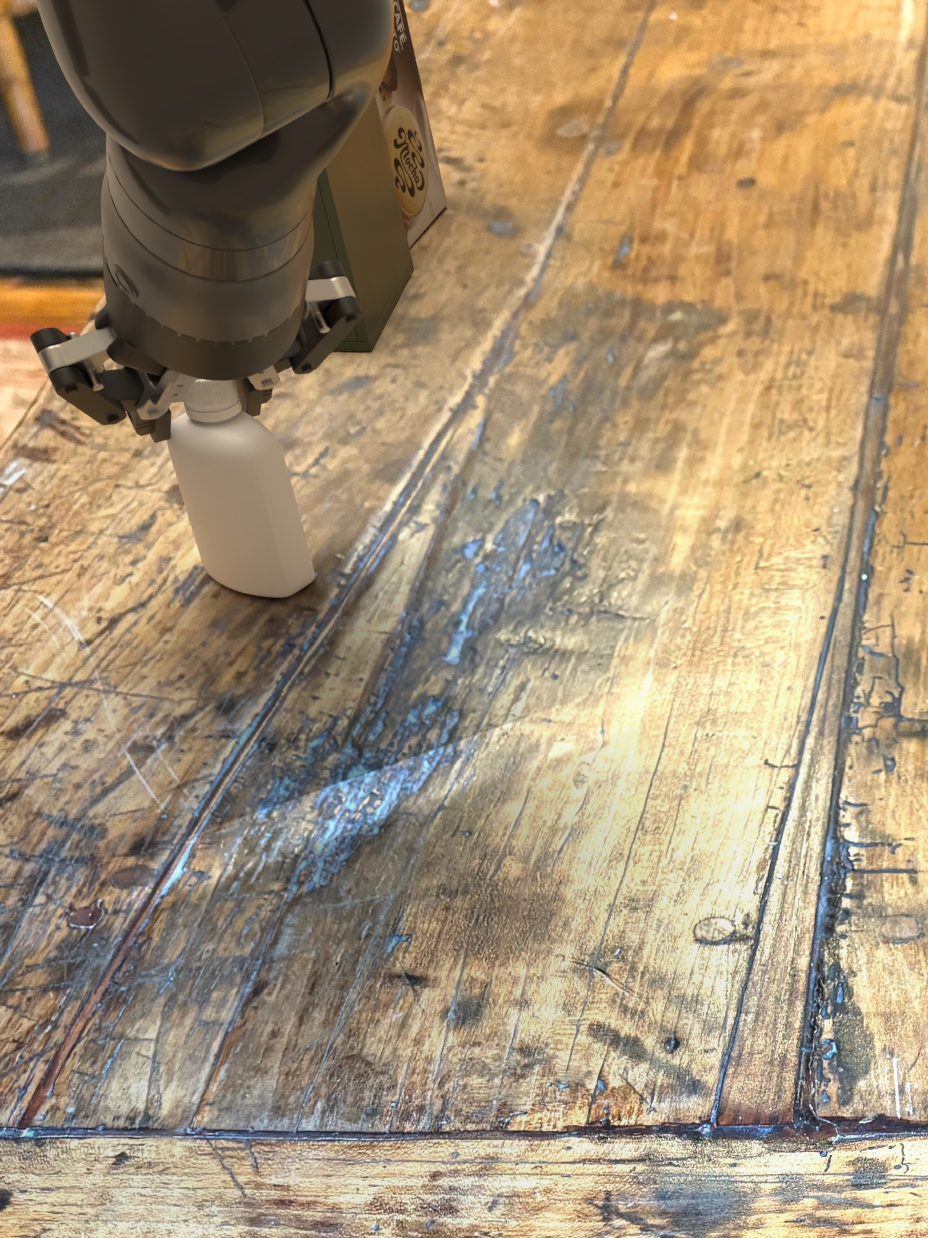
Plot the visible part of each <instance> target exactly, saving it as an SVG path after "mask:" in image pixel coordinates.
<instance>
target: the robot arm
mask: <svg viewBox="0 0 928 1238" xmlns="http://www.w3.org/2000/svg"><path fill="white" fill-rule="evenodd" d="M34 1H35V3H36V7H37V9H38V12H39V16H40V18H41V23H42V25H43V28H44V31H45V33H46V35H47V38H48V41H49V43H50V46H51V48H52V51H53V53H54V57H55V60H56V61H57V63H58V66H59V68H60V70H61V72H62V73H63V76H64V77H65V80H66V81H67V83H68V85H69V87H70V89H71V90H72V92H73V94H74V95H75V97H76V98H77V100H78V101H79V103H80V104H81V105H82V107H83V108H84V109H85V112H87V113H88V114H89V116H90V117H91V119H92V120H94V122H95V123H96V124H97V125H98V126H99V127H100V128H101V130H103V131H104V133H105V153H106V154H105V155H106V156H105V157H106V168H105V172H104V176H103V179H102V183H101V184H102V185H101V192H100V193H101V194H100V218H101V246H102V273H103V274H102V275H103V289H104V295H105V301H106V303H105V305H104V306H102V308H101V309H100V310H99V311H98V312H97V314H95V315H96V316H95V318H94V329H93V330H91V331H89V332H86V333H83V334H81V335H80V333H79V332H76V331H71V332H69V333H67V334H66V333H64V332H63V331H62V330H60V329H59V328H57V327H43V328H40V329H38V330H36V331H34V332H33V333H31V335H30V336H29V339H30V341H31V344H32V346H33V348H34V350H35V352H36V354H37V356H38V358H39V361H40V363H41V365H42V367H43V369H44V371H45V374H46V375H47V377H48V379H49V381H50V384H51V385H52V388H53V389H54V391H55V393H56V395H57V396H59V397H60V398H62V399H63V400H65V401H66V402H67V403H69V404H70V405H72V406H73V407H75V408H76V409H78V410H79V411H80V412H82V414H85V415H87V416H88V417H89V418H91V419H93V420H94V421H95V422H97V423H98V424H100V425H101V426H113V425H118V424H119V423H120V422H123V420H125V419H126V418H127V417H128V419H129V421H130V423H131V425H132V427H133V429H134V431H135V433H136V435H138V436H140V437H143V436H147V435H150V438H151V440H152V441H153V442H154V444H157V443H161V442H166V440H169V439H170V436H171V422H172V411H171V409H170V407H171V405H172V404H176V403H181V402H182V403H183V401H184V400H185V398H186V397H187V395H188V393H189V392H190V390H191V388H192V386H193V385H194V383H195V381H196V380H201V379H204V380H213V381H228V380H235V384H236V387H237V391H238V395H239V399H240V402H241V406H242V409H241V410H242V411H244V412H245V413H247V414H249V415H251V416H252V417H254V418H255V417H258V416H261V409H262V405H264V404H267V403H268V402H269V401H270V400H272V398H273V390H274V387H276V386H277V385H278V384H280V382H281V377H280V376H279V374H280V373H282V372H283V371H285V370H289V369H292V371H293V373H294V374H295V375H309V374H311V373H312V372H314V371H315V370H317V369H318V368H319V367H320V366H321V365H322V364H323V363H324V361H326V360H327V358H328V357H329V356H330V355H331V354H332V353H333V352H334V351H333V350H334V349H335V348H336V347H337V346H338V345H339V344H340V342H341V341H342V340H343V339H344V338H345V337H346V336H347V335H348V334H349V332H350V331H351V330H352V329H353V328H354V327H355V326H356V325H357V324H358V322H359V321H360V320H361V319H362V318H363V317H364V313H363V311H362V309H361V307H360V305H359V302H358V300H357V298H356V296H355V294H354V292H353V289H352V287H351V285H350V283H349V281H348V278H347V276H346V274H345V272H344V270H343V268H342V265H341V263H340V262H339V261H338V260H329V261H324V262H322V263H320V264H319V265H317V266H316V267H315V268H314V269H313V270H312V272H311V273H310V274H309V272H310V266H311V260H312V256H313V250H314V227H313V217H312V212H313V206H314V200H315V194H316V186H317V179H318V176H319V175H320V173H321V172H322V171H323V169H324V168H325V167H326V166H327V165H328V164H329V162H330V161H331V160H332V159H333V158H334V156H335V155H336V154H337V153H338V151H339V150H340V149H341V147H342V146H343V144H344V143H345V141H346V140H347V138H348V136H349V135H350V133H351V132H352V130H353V129H354V127H355V126H356V124H357V123H358V121H359V120H360V118H361V117H362V115H363V114H364V112H365V111H366V109H367V108H368V106H369V104H370V103H371V101H372V99H373V98H374V96H375V94H376V92H377V90H378V88H379V87H380V84H381V82H382V80H383V77H384V74H385V71H386V69H387V66H388V63H389V60H390V55H391V50H392V43H393V33H394V9H393V0H34ZM109 359H110V360H112V361H113V362H114V363H115V369H106V367H105V365H104V364H105V363H106V362H107V361H108V360H109Z"/></svg>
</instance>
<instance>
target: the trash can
mask: <svg viewBox="0 0 928 1238" xmlns="http://www.w3.org/2000/svg"><path fill="white" fill-rule="evenodd" d="M312 217H313V227H314V250H313V256H312V260H311V266H310V272H309V274H310V273H311V272H312V270H313V269H314V268H315V267H316V266H317V265H319V264H320V263H322V262H324V261H329V260H338V261H339V262H340V263H341V265H342V268H343V270H344V272H345V274H346V276H347V278H348V281H349V283H350V285H351V287H352V289H353V292H354V294H355V296H356V298H357V300H358V302H359V305H360V307H361V309H362V311H363V313H364V317H363V318H362V319H361V320H360V321H359V322H358V324H357V325H356V326H355V327H354V328H353V329H352V330H351V331H350V332H349V334H348V335H347V336H346V337H345V338H344V339H343V340H342V341H341V342H340V344H339V345H338V346H337V347H336V348H335V349H334V350H333V351H332V352H364V353H365V352H366V353H367V352H372V351H373V349H374V347H375V345H376V343H377V341H378V339H379V337H380V335H381V333H382V331H383V329H384V328H385V326H386V324H387V322H388V319H389V317H390V316H391V314H392V312H393V310H394V308H395V307H396V304H397V302H398V300H399V298H400V297H401V294H402V293H403V291H404V289H405V287H406V285H407V283H408V281H409V279H410V277H411V276H412V273H413V271H414V269H415V267H414V263H413V257H412V253H411V247H410V248H409V244H408V239H407V235H406V231H405V226H404V222H403V217H402V213H401V208H400V204H399V200H398V195H397V191H396V186H395V182H394V177H393V173H392V169H391V164H390V160H389V155H388V151H387V146H386V142H385V138H384V133H383V129H382V124H381V120H380V115H379V111H378V106H377V102H376V98H375V96H374V98H373V99H372V101H371V103H370V104H369V106H368V108H367V109H366V111H365V112H364V114H363V115H362V117H361V118H360V120H359V121H358V123H357V124H356V126H355V127H354V129H353V130H352V132H351V133H350V135H349V136H348V138H347V140H346V141H345V143H344V144H343V146H342V147H341V149H340V150H339V151H338V153H337V154H336V155H335V156H334V158H333V159H332V160H331V161H330V162H329V164H328V165H327V166H326V167H325V168H324V169H323V171H322V172H321V173H320V175H319V176H318V179H317V186H316V194H315V200H314V206H313V212H312Z"/></svg>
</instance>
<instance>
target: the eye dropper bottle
mask: <svg viewBox="0 0 928 1238" xmlns="http://www.w3.org/2000/svg"><path fill="white" fill-rule="evenodd" d="M182 404H183V406H184V409H185V412H184V413H182V414H180V415H177V417H175V418H174V419H172V420H171V436H170V439H169V440H165V442H166V445H167V449H168V453H169V456H170V459H171V463H172V467H173V470H174V473H175V477H176V480H177V484H178V487H179V490H180V493H181V497H182V500H183V503H184V507H185V510H186V514H187V517H188V520H189V523H190V527H191V530H192V533H193V537H194V540H195V544H196V547H197V551H198V554H199V557H200V561H201V564H202V567H203V568H204V571H205V572H206V573H207V574H208V575H209V577H211V578H212V579H213V580H214V581H216V582H217V583H219V584H220V585H222V586H224V587H226V588H228V589H231V590H233V591H235V592H239V593H242V594H246V595H251V596H255V597H263V598H275V599H276V598H278V599H279V598H280V599H281V598H289V597H291V596H293V595H295V594H296V593H298V592H299V591H301V590H302V589H304V588H305V587H307V586H309V585H310V584H311V583H313V581H314V580H315V579H316V573H315V572H316V571H315V568H314V565H313V564H314V563H313V560H312V557H311V552H310V548H309V545H308V540H307V537H306V533H305V529H304V526H303V522H302V518H301V514H300V511H299V506H298V503H297V499H296V495H295V492H294V487H293V484H292V480H291V477H290V473H289V472H290V471H289V469H288V466H287V462H286V459H285V455H284V451H283V448H282V445H281V444H280V441H279V440H278V438H277V437H276V436H275V435H274V434H273V432H272V431H271V430H270V429H269V428H267V426H265V425H264V424H263V423H262V422H261V421H259V420H258V419H257V418H255V416H254V417H252V416H251V415H249V414H247V413H245V412H244V411H242V410H241V409H242V406H241V402H240V399H239V395H238V391H237V387H236V384H235V380H228V381H213V380H204V379H201V380H196V381H195V383H194V385H193V386H192V388H191V390H190V392H189V393H188V395H187V397H186V398H185V400H184V401H183V402H182Z"/></svg>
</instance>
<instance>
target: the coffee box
mask: <svg viewBox="0 0 928 1238" xmlns="http://www.w3.org/2000/svg"><path fill="white" fill-rule="evenodd" d="M393 9H394V33H393V43H392V50H391V55H390V60H389V63H388V66H387V69H386V71H385V74H384V77H383V80H382V82H381V84H380V87H379V88H378V90H377V92H376V94H375V98H376V102H377V106H378V111H379V115H380V120H381V124H382V129H383V133H384V138H385V142H386V146H387V151H388V155H389V160H390V164H391V169H392V173H393V177H394V182H395V186H396V191H397V195H398V200H399V204H400V208H401V213H402V217H403V222H404V226H405V231H406V235H407V239H408V244H409V248H410V249H411V247H412V245H413V244H415V242H416V241H417V240H418V239H419V237H421V235H422V234H423V233H424V232H425V231H426V229H428V227H429V226H430V225H431V224H432V223H433V221H434V220H435V219H436V218H437V217H438V215H439V214H441V212H442V211H443V210H444V209H445V208H446V206H447V205H448V200H447V195H446V191H445V187H444V183H443V179H442V173H441V169H440V165H439V160H438V155H437V151H436V147H435V141H434V137H433V132H432V128H431V123H430V119H429V115H428V109H427V105H426V100H425V96H424V92H423V86H422V81H421V76H420V72H419V67H418V63H417V58H416V55H415V53H416V52H415V48H414V45H413V39H412V35H411V32H410V31H411V30H410V26H409V20H408V17H407V13H406V12H407V11H406V7H405V3H404V0H393Z"/></svg>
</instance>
